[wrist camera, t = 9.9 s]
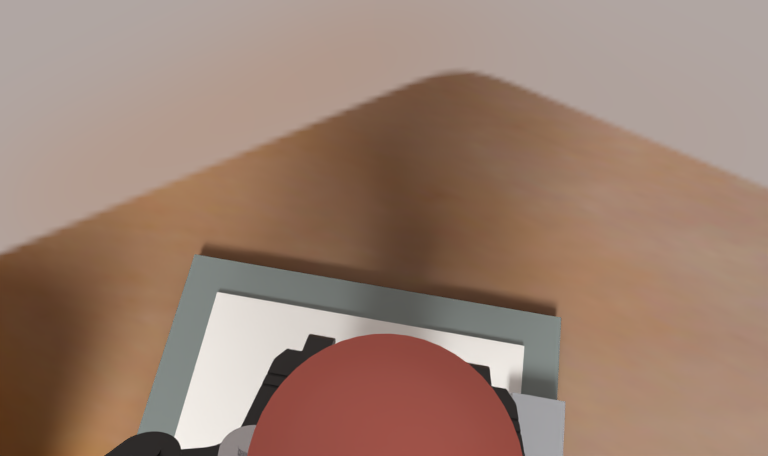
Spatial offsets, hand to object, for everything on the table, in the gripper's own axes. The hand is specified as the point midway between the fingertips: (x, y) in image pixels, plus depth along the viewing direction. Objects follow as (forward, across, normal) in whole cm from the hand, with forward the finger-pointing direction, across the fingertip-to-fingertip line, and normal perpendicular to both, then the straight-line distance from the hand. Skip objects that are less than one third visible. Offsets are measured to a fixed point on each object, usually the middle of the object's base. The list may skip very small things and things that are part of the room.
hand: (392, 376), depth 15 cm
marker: (+3, 0, +6) cm, 6 cm away
